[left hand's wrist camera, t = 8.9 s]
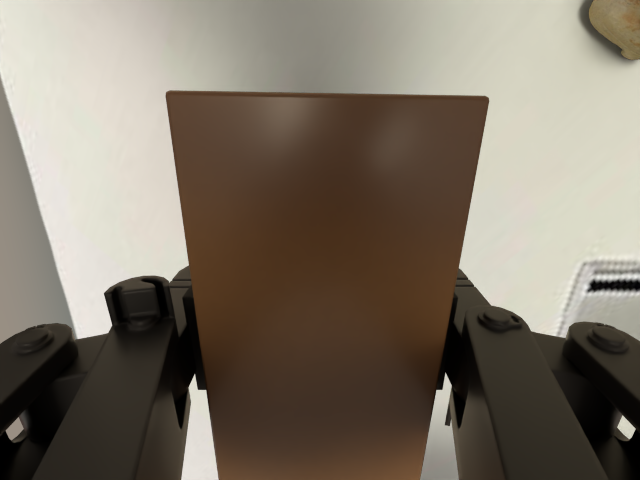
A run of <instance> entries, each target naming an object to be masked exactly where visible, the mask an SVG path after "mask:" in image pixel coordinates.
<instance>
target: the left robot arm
mask: <svg viewBox="0 0 640 480" xmlns="http://www.w3.org/2000/svg"><path fill="white" fill-rule="evenodd" d="M104 296H105V299H106V303H107V307H108V310H109V314H110V318H111V322H112V327H111V329H110V331H109V333H107V334H103V335H98V336H93V337H87V338H82V339H77V340H75V338H74V335H73V331H72V328H70V327H69V326H68V325H66V324H59V323H54V324H42V325H38V326H37V327H36V326H34V327H31V328H28V329H26V330H25V331H22V332H20V333H18V334H15V335H13V336H12V337H10V338H9V339H7V340H5V341H4V342H2V343H1V344H0V480H181V476H182V468H183V460H184V452H185V444H186V437H187V429H188V421H189V413H190V405H191V400H190V394H189V388H188V387H189V385H190V383H191V381H192V378H193V376H194V374H195V376H196V381H197V387H198V390H206V384H205V376H204V369H203V362H202V355H201V347H200V340H199V333H198V326H197V319H196V311H195V304H194V297H193V290H192V282H191V275H190V268H189V266H187V267H185V268H184V269H182V270H180V271H179V272H178V273H177V275H176V276H175V277H174V278H173V279H172V281H171V282H170V283H169V281H168V280H167V279H165V278H164V277H159V276H141V277H135V278H131V279H128V280H125V281H122V282H119V283H117V284H115V285H114V286H112V287H110V288H109V289H108V290H107V291H106V292H105V293H104ZM445 372H446V374H447V376H448V378H449V380H450V383H451V385H452V388H451V394H450V399H449V404H448V410H447V415H446V421H445V425H447V426H450V422H451V420H452V428H453V436H454V444H455V451H456V459H457V467H458V475H459V480H640V341H638V340H637V339H635V338H634V337H632V336H630V335H629V334H627V333H625V332H623V331H620V330H618V329H616V328H615V327H612V326H609V325H604V324H602V323H593V322H578V323H574V324H572V325H571V326H570V327H569V329H568V332H567V335H566V338H561V337H556V336H551V335H545V334H540V333H535V332H531V330H530V328H529V327H528V325H527V324H526V322H525V321H524V320H523V319H522V318H521V317H519V316H518V315H516V314H515V313H513V312H511V311H508V310H506V309H503V308H500V307H495V306H491V305H490V304H489V303H488V301H487V300H486V299H485V298H484V297H483V295H482V294H481V293H480V292H479V291H478V289H477V288H476V287H474V285H473V283H472V282H471V281H470V280H468V278H467V276H466V275H465V274H464V273H463V272H462V270H460V269H459V268H458V274H457V279H456V285H455V290H454V296H453V301H452V307H451V312H450V318H449V323H448V329H447V334H446V339H445V345H444V350H443V356H442V361H441V367H440V372H439V378H438V383H437V389H436V390H442V389H443V383H444V377H445ZM622 415H623V416H624V417H625V418H626V419H627V420H628V421H629V422H630V423H631V424H632V425H633V426H634V427H635V428H636V430H635V432H634V434H633V436H632V438H631V439H628V438H627V437H626V436H625V435H623V434H622V433H621V431H620V430H619V429H618V428H617V426H618V424H619V422H620V419H621V417H622ZM18 417H19V419H20V421H21V423H22V425H23V428H24V429H23V431H22V432H21V433H20V434H19V435H18V436H17V437H16V438H14V439H13V440H12V441H11V440H10V439H9V438H8V435H7V433H6V431H5V430H6V429H7V428H8V427H9V426H10V425H11V424H12V423H13V422H14V421H15V420H16V419H17V418H18Z"/></svg>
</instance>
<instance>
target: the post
mask: <svg viewBox="0 0 640 480" xmlns="http://www.w3.org/2000/svg"><path fill="white" fill-rule="evenodd" d="M166 102H167V109H168V116H169V123H170V131H171V138H172V145H173V152H174V160H175V167H176V174H177V181H178V188H179V196H180V203H181V210H182V217H183V225H184V232H185V239H186V246H187V254H188V261H189V268H190V275H191V282H192V290H193V297H194V304H195V311H196V319H197V326H198V333H199V340H200V347H201V355H202V362H203V369H204V376H205V384H206V391H207V398H208V405H209V413H210V420H211V427H212V434H213V441H214V449H215V456H216V463H217V470H218V478H219V480H420V476H421V471H422V465H423V460H424V454H425V449H426V443H427V438H428V432H429V427H430V421H431V416H432V411H433V405H434V400H435V394H436V389H437V383H438V378H439V372H440V367H441V361H442V356H443V350H444V345H445V339H446V334H447V329H448V323H449V318H450V312H451V307H452V301H453V296H454V290H455V285H456V279H457V274H458V268H459V263H460V257H461V252H462V247H463V241H464V236H465V230H466V225H467V219H468V214H469V208H470V203H471V197H472V192H473V186H474V181H475V175H476V170H477V165H478V159H479V154H480V148H481V143H482V137H483V132H484V126H485V121H486V115H487V110H488V104H489V98H488V97H486V96H462V95H404V94H345V93H286V92H228V91H168V92H166Z"/></svg>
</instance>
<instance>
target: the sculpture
mask: <svg viewBox="0 0 640 480" xmlns="http://www.w3.org/2000/svg"><path fill="white" fill-rule="evenodd" d="M589 18H590V21H591V24H592V25H593V26H594V28H595V29H596V30H597V31H598V32H599V33H601V34H602V35H603V36H604V37H606V38H607V39H608V40H610V41H611V42H613V43H614V44H616V45H618V46H619V47H620V48H622V51H621V54H622V55H623V56H624V57H625V58H627V59H630V60H635V59H640V0H593V2H592V4H591V6H590V9H589Z"/></svg>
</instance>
